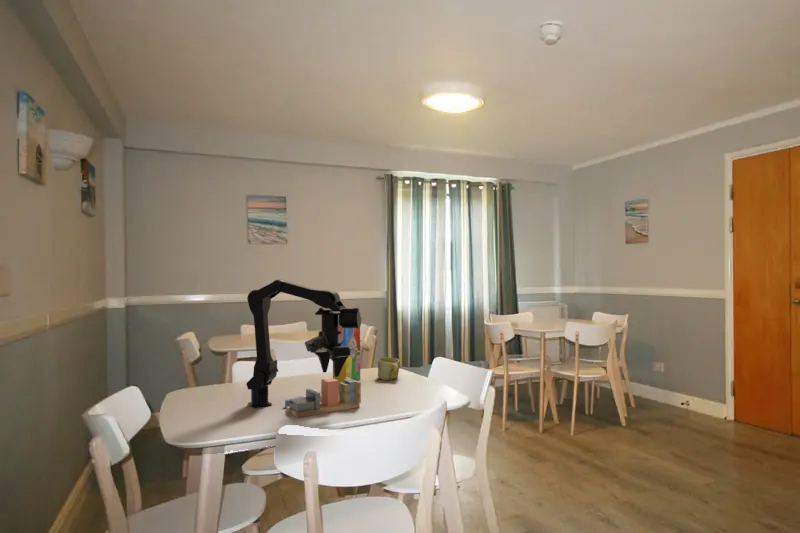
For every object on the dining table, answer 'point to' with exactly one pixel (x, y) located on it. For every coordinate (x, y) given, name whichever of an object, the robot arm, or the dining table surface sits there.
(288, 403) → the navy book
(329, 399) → the salmon orange block
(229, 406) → the dining table surface
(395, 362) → the mug
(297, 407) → the bookend
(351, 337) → the game box
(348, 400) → the wooden toy block set
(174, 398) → the dining table surface
